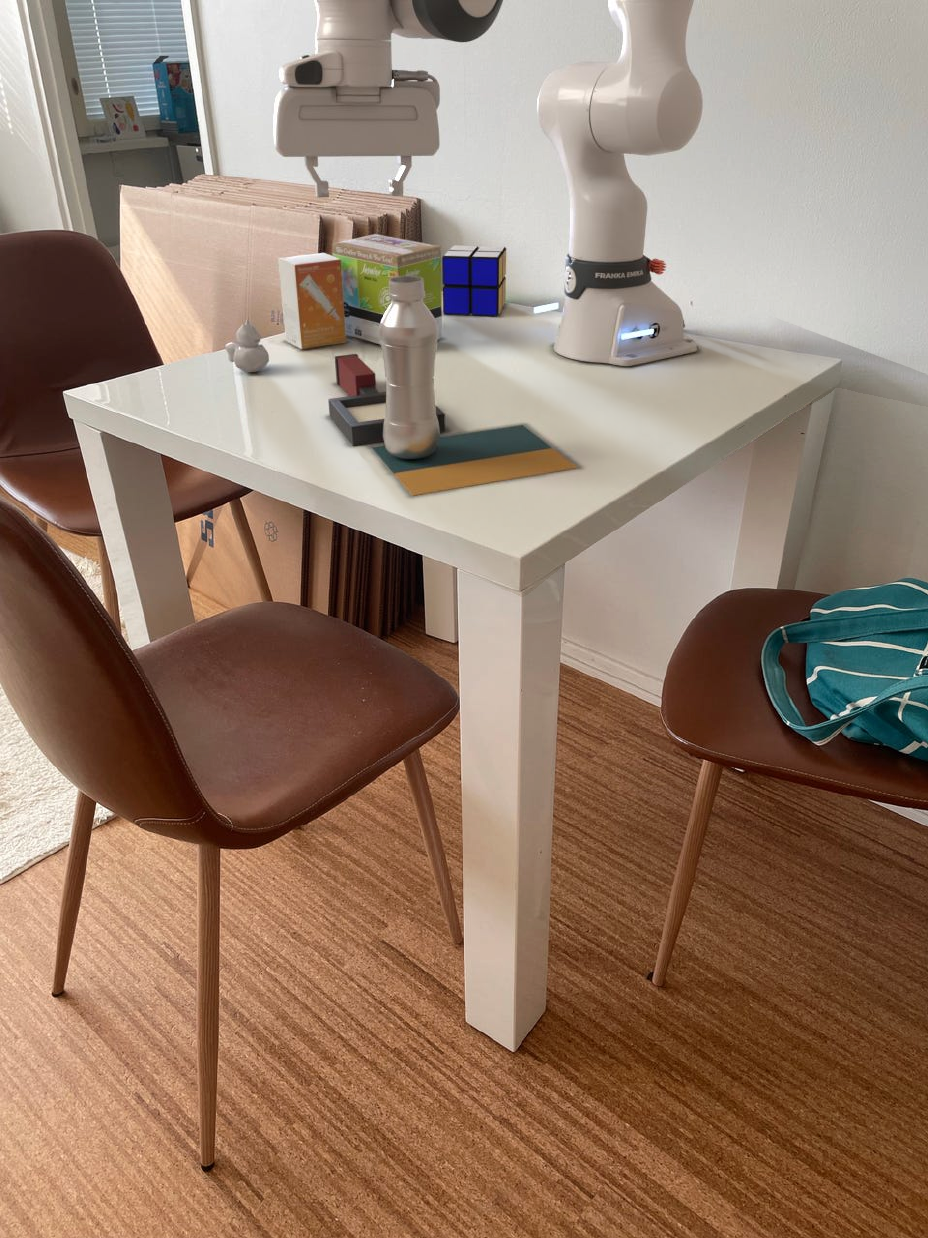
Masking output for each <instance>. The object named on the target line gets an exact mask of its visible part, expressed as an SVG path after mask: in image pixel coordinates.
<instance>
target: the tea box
mask: <svg viewBox="0 0 928 1238" xmlns="http://www.w3.org/2000/svg"><path fill="white" fill-rule="evenodd" d="M441 248H442V247H441V245H436V244H430V243H425V242H419V241H415V240H410V239H409V240H408V239H404V238H398V237H393V236H388V235H382V234H376V233H374V234H373V233H372V234H369V235H365V236H360V237H356V238H351V239H347V240H342V241H337V242H332V256H334V257H336V258H339V259H341V271H342V287H343V302H344V318H345V334H346V336H350V337H353V338H357V339H360V340H364V341H368V342H370V343H374V344H378V345H380V346H381V343H380V337H379V327H380V323H381V320H382V318H383V316H384V314H385V312H386V311H387V309H388V308H389V306H390V305H391V303H392V299H391V298H389V292H390V289H389V279H390V278H393V277H397V276H417V277H421V278H423V281H424V291H425V297H424V298H423V303H424V304H425V305H426V306H427V308H428V309H429V310H430V312H431V313H432V315H433V316H434V318H435V319H436V322H437V325H438V338H437V339H438V340H440V339H442V337H443V318H442V317H443V299H442V249H441Z"/></svg>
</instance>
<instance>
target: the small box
mask: <svg viewBox="0 0 928 1238" xmlns="http://www.w3.org/2000/svg"><path fill="white" fill-rule="evenodd" d="M277 263H278V275H279V285H280V294H281V305H282V306H281V307H282V315H283V323H284V335H285V341H286V342H287V343H289V344H291V345H293V346H294V347H296V348H299V349H300V350H306V349H312V348H319V347H324V346H330V345H336V344H337V345H338V344H345V343H346V342H347V335H346V334H345V318H344V302H343V287H342V271H341V259H339V258H336V257H334V256H333V255H331V254H329V253H326V252H320V253H318V252H317V253H312V254H301V255H300V254H299V255H293V256H287V257H278V258H277Z"/></svg>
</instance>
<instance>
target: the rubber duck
mask: <svg viewBox="0 0 928 1238" xmlns="http://www.w3.org/2000/svg"><path fill="white" fill-rule="evenodd" d="M261 338H262V335H261V334H260V332H258V330H257V329H256V327H255V325H254V324H252V323H251V322H250V319H249V316H247V317H246V320H245V323H244V322H243V323H242V324H241V326H240V327H239V328H238V330H237V331H236V342H237V343H236V342H229V343H227V344H225V346H224V347H225V351H226V353H227V355H228V361H229V362H231V363H234V365H235V367H236V368H237V369H240V370H241V371H244V372H246V373H247V372H248V373H257V372H259V371H261V370H263V369H264V368H265V367H266V366H267V365H268V363H269V362H270V356H269V352H268V350H267V349H266V348H265V347H264V344H262V343H260V342H261Z"/></svg>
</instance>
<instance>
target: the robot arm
mask: <svg viewBox="0 0 928 1238" xmlns="http://www.w3.org/2000/svg"><path fill="white" fill-rule="evenodd" d="M503 2H504V0H314V3H315V7H316V11H317V25H316V30H315V49H316V50H315V52H314V53H313V54H310V55H309V54H305V55H302V56H300V58H298V59H295V60H292V61H289V62H286V63H285V64H282V65H280V68H279V78H280V82H281V84H282V85H283V86H284V87H283V88H281V89H280V90H279V91H278V93H277V95H276V97H275V100H274V101H275V102H274V110H273V111H274V112H273V143H274V149H275V150H276V152H277V153H278V154H279V155H280V156H282V157H284V158H304V167H305V168H306V170H307V171H308V173H309V175H310V177H311V179H312V180H313V181H314V189H315V197H316V198H318V199H319V198H329V197H330V191H329V181H327V180H321V177H320V175H319V174H318V173H317V171H316V169H315V168H318V167H319V158H320V157H321V158H322V157H325V158H326V157H327V158H328V157H329V158H330V157H334V158H335V157H340V158H341V157H396V158H397V165H399V166H400V168H399V170H398V172H397V175H396V177H395V179H389V180H388V186H389V189H388V190H389V191H388V192H389V196H391V197H404V181H405V180H406V178H407V176H408V174H409V173H410V170H411V168H412V165H413V162H412V159H413V158H412V157H434V156H435V155H436V154H437V152H438V150H439V149H440V142H441V141H440V128H439V120H438V119H439V118H438V112H437V111H438V109H439V106H440V103H441V88H440V87H441V86H440V84H439V81H438V80H437V79H436V77H435V76H433V75H432V74H429V72H428V71H427V70H424V69H423V70H422V69H421V70H420V69H419V70H406V69H393V61H392V56H393V55H392V34H394V35H396V36H399V37H402V38H406V39H422V40H431V39H432V40H439V39H440V40H445V41H449V42H455V43H468V42H473V41H475V40H476V39H479V38H481V36H483V35H484V34H486V33H487V32H488V31H489V29H490V28H491V27H492V25H493V24H494V23H495V21H496V19H497V17H498V15H499V12H500V10H501V8H502V5H503ZM694 2H695V0H608V3H607V4H608V12H609V15H610V17H611V19H612V22H613V23H614V24H615V26H616V27H617V28H618V29H619V30H620V31H621V32H622V35H623V36H622V37H623V39H622V48H621V52H620V55H619V58H618V59H617V61H580V62H576V63H572V64H568V65H565V66H563V67H559V68H556V69H555V70H553V71H551V72H550V73H549V74H548V75H547V76H546V78H544V81H543V83H542V84H541V86H540V90H539V92H538V97H537V104H536V113H537V120H538V124H539V127H540V128H541V131H542V133H543V134H544V135H545V136H546V138H547V139H548V140H549V141H550V142H551V144H552V146H553V147H554V149H555V151H556V154H557V155H558V157H559V160H560V163H561V165H562V168H563V172H564V176H565V179H566V184H567V189H568V196H569V240H568V241H569V242H568V243H569V244H568V253H567V254H566V255H565V263H564V264H565V266H564V276H563V277H564V279H563V281H564V282H563V288H564V291H563V292H564V303H563V309H562V313H561V314H562V315H561V319H560V325H559V329H558V331H557V336H556V337H555V338H556V339H555V342H554V345H553V346H552V347H553V351H554V352H555V353H557V354H558V355H560V356H562V357H565V358H568V359H570V360H571V359H572V360H576V361H581V362H586V363H587V362H588V363H601V364H610V365H615V366H620V367H632V366H636V365H642V364H645V363H651V362H654V361H660V360H663V359H670V358H673V357H677V356H678V357H679V356H681V355H687V354H690V353H691V354H692V353H695V352H697V350H698V349H697V346H698V345H697V341H695V340H694V338H692V337H690V336H689V335H687V334H685V333H684V332H685V331H684V329H685V328H686V324H685V320H684V315H683V310H682V309H681V307H680V306H679V304H678V303H676V301H674V300H673V299H672V298H671V297H670V296H668V294H666V293H665V292H664V291H663V290H662V289H661V288H660V287H659V286H658V285H656V284H655V283H654V281H652V275H651V273H653V274H655V275H658V276H660V275H662V274H664V273H665V271H666V268H667V263H666V262H665V261H664V260H663V259H662V260H661V259H658V258H653V259H650V258H649V257H648V256H646V255H645V254H644V250H645V241H646V240H645V238H646V228H647V218H648V201H647V198H646V195H645V193H644V192H643V190H642V189H641V188H640V187H639V186H638V185H637V184H636V183H635V182H634V180H633V179H632V177H631V175H630V174H629V171H628V168H627V164H626V159H625V155H634V156H635V155H636V156H644V157H646V156H647V157H650V156H656V155H662V154H669V153H672V152H677V151H680V150H682V149H684V147H685V146H687V145H688V143H690V141H691V140H692V138H693V137H694V135H695V134H696V132H697V130H698V128H699V125H700V123H701V119H702V115H703V107H704V106H703V104H704V103H703V93H702V90H701V87H700V84H699V81H698V79H697V78H696V76H695V75H694V73H693V72H692V70H691V68H690V66H689V63H688V57H687V48H686V47H687V45H686V43H687V42H686V41H687V40H686V39H687V30H688V25H689V19H690V16H691V12H692V9H693V4H694ZM429 79H430V80H429ZM558 309H559V302H554V303H550V304H549V303H548V304H545V305H539V306H535V307H533V313H534V314H538V313H542V312H543V313H545V312H548V311H554V310H558Z"/></svg>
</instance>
